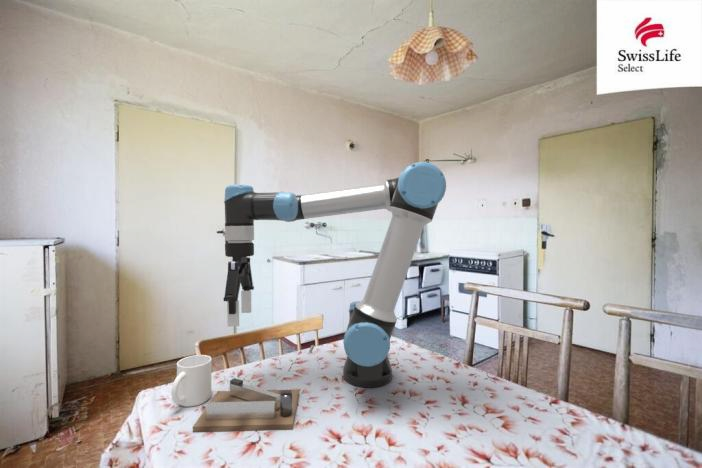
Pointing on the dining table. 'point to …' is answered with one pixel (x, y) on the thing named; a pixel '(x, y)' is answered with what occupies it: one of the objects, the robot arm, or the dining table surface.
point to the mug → (192, 381)
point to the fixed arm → (249, 409)
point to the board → (246, 424)
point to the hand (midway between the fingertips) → (240, 318)
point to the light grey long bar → (252, 392)
